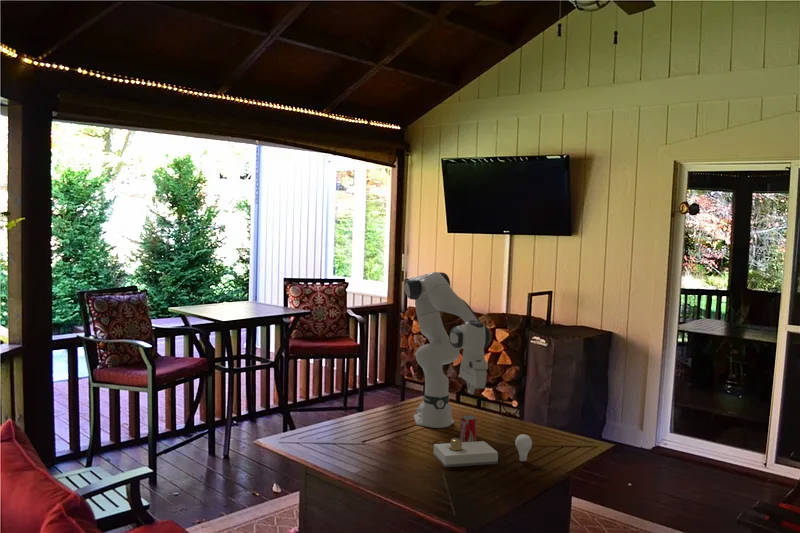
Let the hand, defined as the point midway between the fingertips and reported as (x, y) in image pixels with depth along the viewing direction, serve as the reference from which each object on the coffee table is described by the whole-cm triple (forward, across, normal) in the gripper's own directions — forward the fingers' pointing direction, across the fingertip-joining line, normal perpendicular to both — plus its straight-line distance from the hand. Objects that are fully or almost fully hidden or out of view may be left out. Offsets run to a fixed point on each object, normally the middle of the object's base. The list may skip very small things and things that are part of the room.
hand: (470, 393), depth 260 cm
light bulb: (+24, +15, +18) cm, 34 cm away
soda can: (+25, -9, +4) cm, 27 cm away
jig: (+24, +8, -4) cm, 26 cm away
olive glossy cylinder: (+23, +8, -8) cm, 26 cm away
